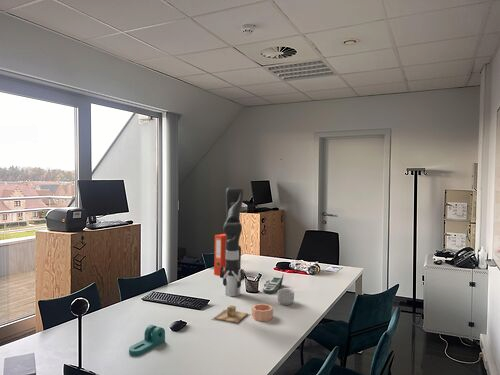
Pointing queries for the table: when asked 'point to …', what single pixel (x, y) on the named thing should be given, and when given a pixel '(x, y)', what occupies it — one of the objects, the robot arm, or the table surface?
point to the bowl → (262, 312)
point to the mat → (231, 322)
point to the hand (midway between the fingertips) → (231, 286)
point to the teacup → (285, 296)
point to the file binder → (219, 253)
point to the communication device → (272, 285)
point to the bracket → (148, 340)
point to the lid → (231, 315)
